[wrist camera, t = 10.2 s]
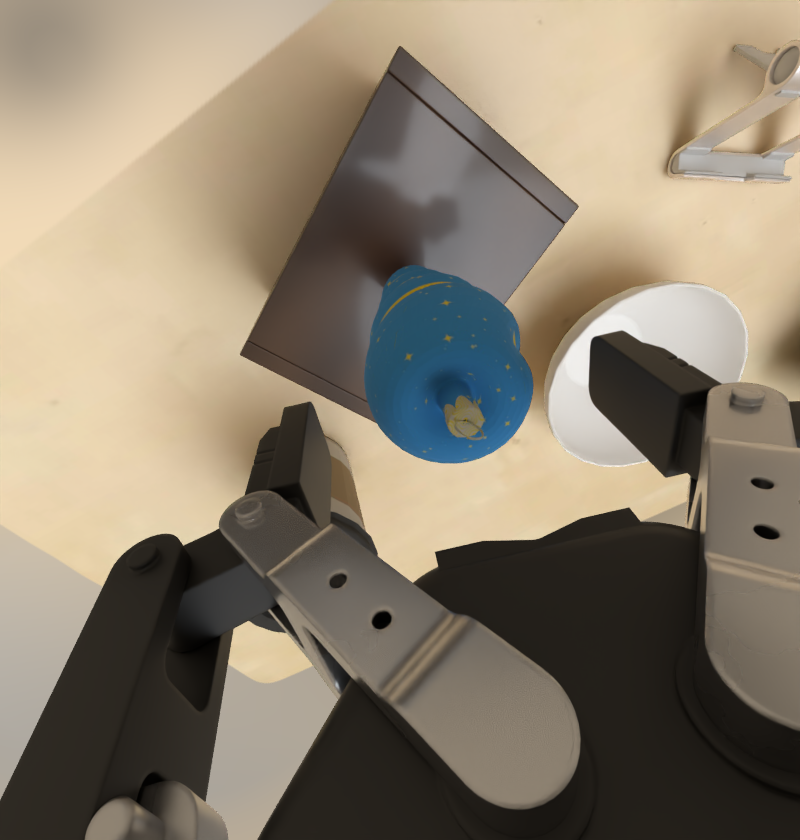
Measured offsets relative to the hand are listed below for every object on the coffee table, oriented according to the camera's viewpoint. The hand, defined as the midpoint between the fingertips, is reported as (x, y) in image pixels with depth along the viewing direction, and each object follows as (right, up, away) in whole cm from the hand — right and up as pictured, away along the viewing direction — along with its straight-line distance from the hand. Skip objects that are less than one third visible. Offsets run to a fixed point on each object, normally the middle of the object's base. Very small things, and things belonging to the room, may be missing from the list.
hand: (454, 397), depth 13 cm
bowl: (+17, +6, +28) cm, 33 cm away
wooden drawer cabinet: (-3, +13, +21) cm, 24 cm away
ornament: (-1, +7, +11) cm, 13 cm away
